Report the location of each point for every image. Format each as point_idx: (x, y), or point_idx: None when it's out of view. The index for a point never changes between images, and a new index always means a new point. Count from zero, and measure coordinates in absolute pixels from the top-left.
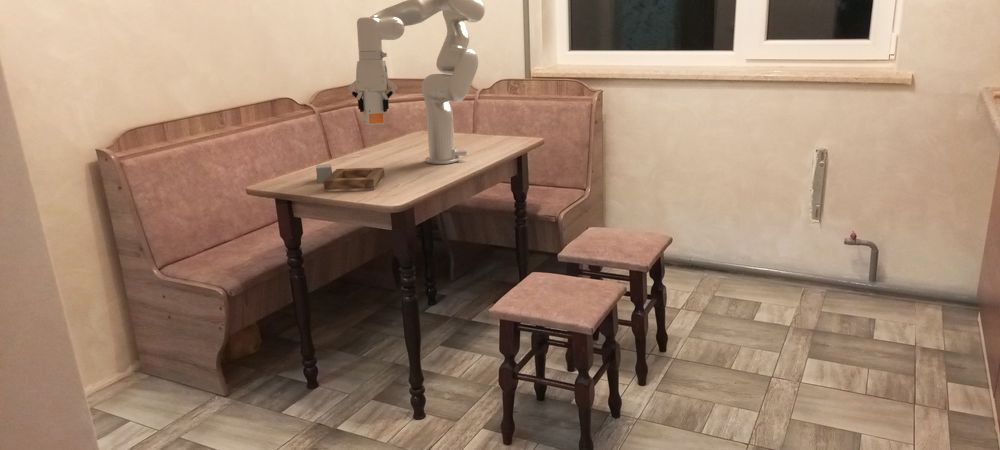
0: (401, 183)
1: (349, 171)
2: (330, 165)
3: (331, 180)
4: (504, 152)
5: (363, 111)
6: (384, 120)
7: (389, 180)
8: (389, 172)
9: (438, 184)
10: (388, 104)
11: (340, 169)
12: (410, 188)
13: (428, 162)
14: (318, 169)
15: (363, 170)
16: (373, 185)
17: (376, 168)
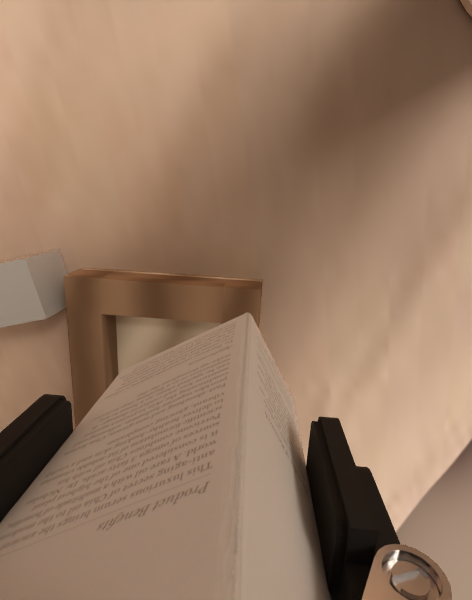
0: (334, 378)
1: (126, 314)
2: (32, 287)
3: None
4: None
5: (75, 432)
6: (295, 413)
7: (286, 326)
8: (272, 184)
9: (469, 416)
10: (380, 504)
11: (82, 291)
12: (368, 447)
13: (464, 4)
14: (3, 325)
15: (182, 319)
16: None
17: (232, 302)
